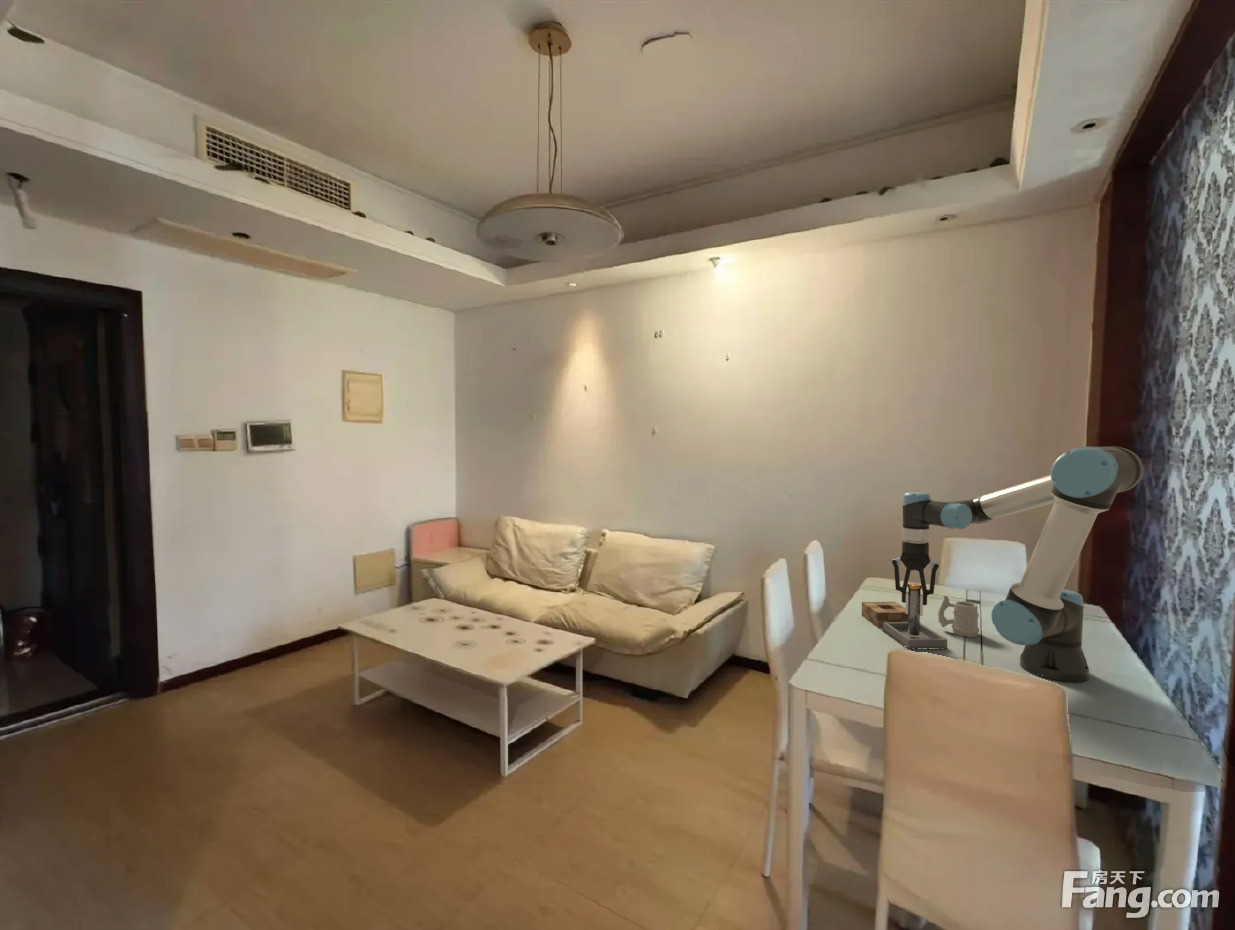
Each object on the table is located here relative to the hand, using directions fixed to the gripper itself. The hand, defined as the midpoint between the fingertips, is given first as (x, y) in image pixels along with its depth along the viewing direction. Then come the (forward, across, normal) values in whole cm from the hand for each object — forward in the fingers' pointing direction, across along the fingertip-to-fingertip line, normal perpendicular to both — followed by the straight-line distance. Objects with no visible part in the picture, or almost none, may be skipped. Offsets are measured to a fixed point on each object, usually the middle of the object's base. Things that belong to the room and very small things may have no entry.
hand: (914, 613), depth 178 cm
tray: (+9, 0, 0) cm, 9 cm away
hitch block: (+9, +9, -16) cm, 20 cm away
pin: (+7, 0, 0) cm, 7 cm away
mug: (+9, -13, -14) cm, 21 cm away
